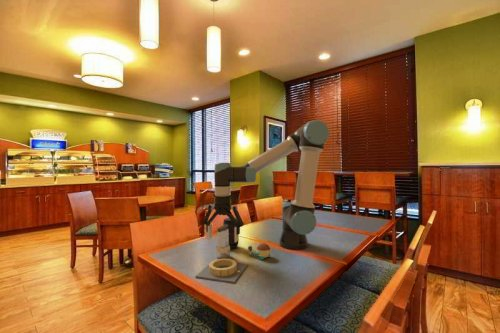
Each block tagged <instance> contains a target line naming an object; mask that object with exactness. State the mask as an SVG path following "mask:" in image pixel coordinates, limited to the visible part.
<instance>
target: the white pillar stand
mask: <svg viewBox="0 0 500 333" xmlns="http://www.w3.org/2000/svg"><path fill="white" fill-rule="evenodd" d="M227 227H228V224H225V225H221V226H220V227H218V228H217V230H216V231H217V232H216V233H217V235H216V236H217V237H216V238H217V241H216V242H217V245H216V246H215V247H216V250H215V251H216V254H215V256H216V257H215V258H216V260H217V259H224V258H226V259H231V250H230V245H229V233H228V229H226V228H227Z"/></svg>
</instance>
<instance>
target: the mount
mask: <svg viewBox="0 0 500 333" xmlns="http://www.w3.org/2000/svg"><path fill="white" fill-rule="evenodd" d="M247 267H248V263H241V262H237V261H236V260H234V259H231V258H228V259H226V258H224V259H217V258H216V259H213V260H212V261H211V262H209V264H207V265H206V266H205V267H204V268H203V269H202V270H201V271H200V272H198V273H197V274H196V275H195V279H201V280H202V279H204V280H210V281H216V282H223V283H231V284H235V283H236V282H237V280H238V279H239V278H240V277H241V275H242V274H243V272H244V271H245V270H246V268H247Z"/></svg>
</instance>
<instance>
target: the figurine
mask: <svg viewBox="0 0 500 333" xmlns="http://www.w3.org/2000/svg"><path fill="white" fill-rule="evenodd" d="M247 249H248V251H249V252H248V253H249V255H250V257H252V256H253V255H256V256H258V259H260V260H261V261H263V260H264V259H266V258H269V257H271V250H272V249H271V247H270V246H269V244H267V243H265V242H263V243H260V244H258V245H257V247H256V249H255V251H252V250H253V246H251V245H249V246H248V247H247Z"/></svg>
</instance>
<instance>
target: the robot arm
mask: <svg viewBox="0 0 500 333" xmlns="http://www.w3.org/2000/svg"><path fill="white" fill-rule="evenodd" d="M329 137H330V129H329V127H328V125H327V124H326V123H325V122H324V121H323V120H319V119H314V120H310V121H307V122H306V123H305V124H303V125H302V126H300V127H299V128H298V129H297V130H295V131H294V132H292V134H289V135H288V136H287V138H286V139H285V140H282V142H280V143H278V144H277V145H275V146H273V147H271V148H270V149H267V150H266V151H264V152H263V153H261V154H260V155H258V156H256V157H254V158H253V159H251V160H248V161H247V163H245V164H244V163H243V165H240V166H232V165H231V163H230V162H216V163H215V164H214V174H213V176H214V205H213V203H212V204H208V206H207V207H208V209H207V211H206V214H205V216H204V218H203V220H202V225H205V231H206V233H207V240H208V241H209V240H211V239H212V238H213V235H212V234H213V225H212V223H213V221H214V220H215V219H216V217H217V216H226V217H227V218H230V220H231V221H232V222H233V224H234V225H235V226H236V227H235V242H237V241H238V237H239V235H240V234H241V228H242V227H244V225H245V224H244V222H243V219H242V217H241V214H240V213H239V210H238V206H237V205H234V206H233V205H231V203H232V202H231V198H232V197H231V194H232V193H231V186H232V185H231V183H249V184H250V183H255V182H256V177H257V174H259V172H262V171H263V170H265V169H266V168H268V167H270V166H271V165H274V164H275V163H277V162H278V161H280V160H282V159H284V158H285V157H287V156H289V155H291V153H293V152H297V153H298V152H299V151H301V154H300V161H299V166H298V173H297V179H296V180H297V181H296V187H295V194H294V199H293V200H292V201H291V202H287V201H285V202H283V203H282V206H281V207H282V208H281V209H282V210H281V211H282V212H281V214H282V215H281V217H282V218H281V220H282V222H281V223H282V230H281V234H280V237H279V246H280V247H282V248H286V249H288V250H303V249H306V248H307V247H309V244H308V243H309V241H308V238H307V235H308V234H311V233H312V232H314V230H315V229H316V226H317V218H316V215H315V210H316V206H315V204H314V203H313V200H314V195H315V188H316V181H317V174H318V167H319V159H320V154H321V153H322V152H324V148H325V143H326V142H327V141H328V140H329ZM213 210H215V211H214V212H213ZM212 212H213V214H212ZM211 214H212V215H211ZM233 214H234V215H233ZM235 218H236V219H237V220H236V219H235ZM238 242H239V241H238Z"/></svg>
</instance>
